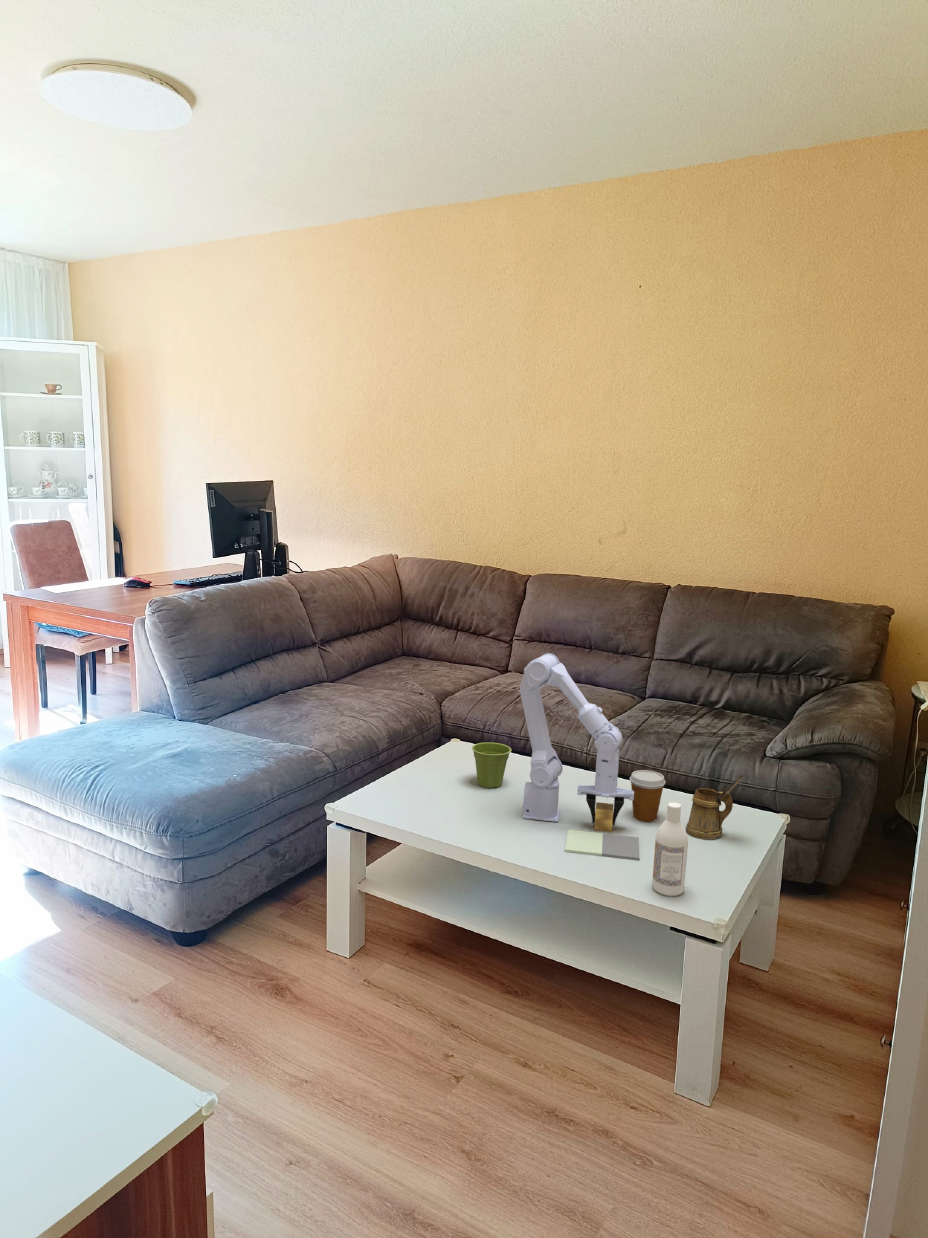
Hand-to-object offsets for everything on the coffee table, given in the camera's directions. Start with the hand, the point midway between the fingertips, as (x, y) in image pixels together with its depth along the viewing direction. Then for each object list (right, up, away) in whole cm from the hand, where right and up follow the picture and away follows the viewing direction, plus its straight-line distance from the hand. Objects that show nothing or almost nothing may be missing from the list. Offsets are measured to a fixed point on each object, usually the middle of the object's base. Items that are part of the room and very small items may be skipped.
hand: (603, 822), depth 211 cm
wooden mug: (+28, -3, -2) cm, 28 cm away
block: (0, -1, 0) cm, 1 cm away
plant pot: (-29, +4, +29) cm, 41 cm away
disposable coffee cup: (+13, -1, +8) cm, 15 cm away
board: (-2, -3, -10) cm, 11 cm away
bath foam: (+9, -7, -32) cm, 34 cm away
